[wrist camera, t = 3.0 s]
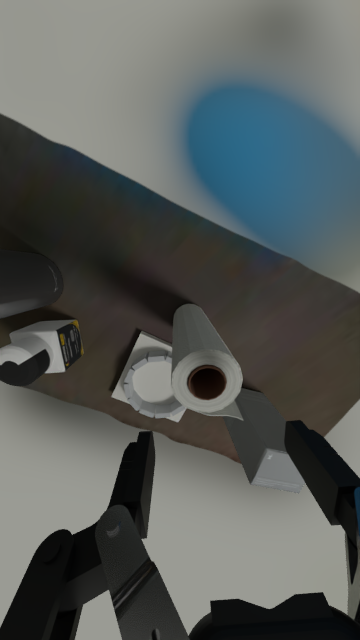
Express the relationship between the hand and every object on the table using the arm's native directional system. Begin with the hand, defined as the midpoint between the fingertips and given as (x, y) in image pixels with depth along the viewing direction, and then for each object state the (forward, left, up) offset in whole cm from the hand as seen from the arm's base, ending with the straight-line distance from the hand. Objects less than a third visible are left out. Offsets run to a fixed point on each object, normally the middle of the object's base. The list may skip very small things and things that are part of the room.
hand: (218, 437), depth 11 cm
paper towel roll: (0, 0, -26) cm, 26 cm away
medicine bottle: (-24, -1, -26) cm, 36 cm away
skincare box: (+11, -18, -26) cm, 34 cm away
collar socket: (-6, -11, -26) cm, 29 cm away
